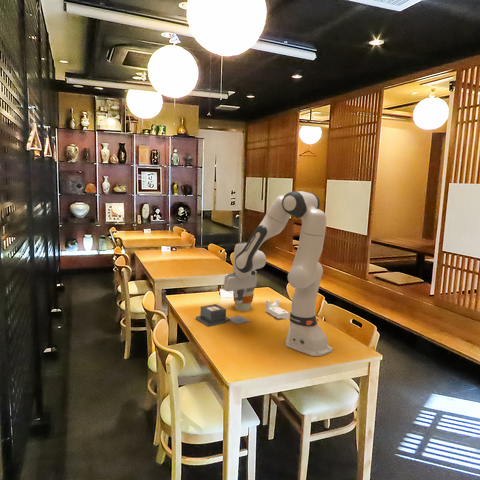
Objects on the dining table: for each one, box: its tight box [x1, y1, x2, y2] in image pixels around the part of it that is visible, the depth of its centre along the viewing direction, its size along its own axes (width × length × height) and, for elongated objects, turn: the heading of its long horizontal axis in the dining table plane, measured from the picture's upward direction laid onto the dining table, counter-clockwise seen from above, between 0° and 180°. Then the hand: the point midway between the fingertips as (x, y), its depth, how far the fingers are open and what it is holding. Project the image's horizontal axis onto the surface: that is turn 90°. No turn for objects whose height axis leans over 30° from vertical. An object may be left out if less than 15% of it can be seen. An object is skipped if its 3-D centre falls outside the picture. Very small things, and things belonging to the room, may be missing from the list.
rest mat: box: [228, 315, 251, 326], centre depth 208 cm, size 9×9×1 cm
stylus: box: [236, 289, 243, 304], centre depth 206 cm, size 3×3×8 cm
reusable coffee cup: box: [232, 287, 255, 312], centre depth 226 cm, size 12×13×15 cm
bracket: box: [265, 298, 290, 320], centre depth 219 cm, size 13×7×8 cm, turn 28°
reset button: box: [207, 306, 219, 311], centre depth 205 cm, size 6×6×5 cm
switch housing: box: [195, 303, 231, 328], centre depth 205 cm, size 12×14×7 cm
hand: (239, 297), depth 206 cm, fingers closed on stylus, 3 cm apart
